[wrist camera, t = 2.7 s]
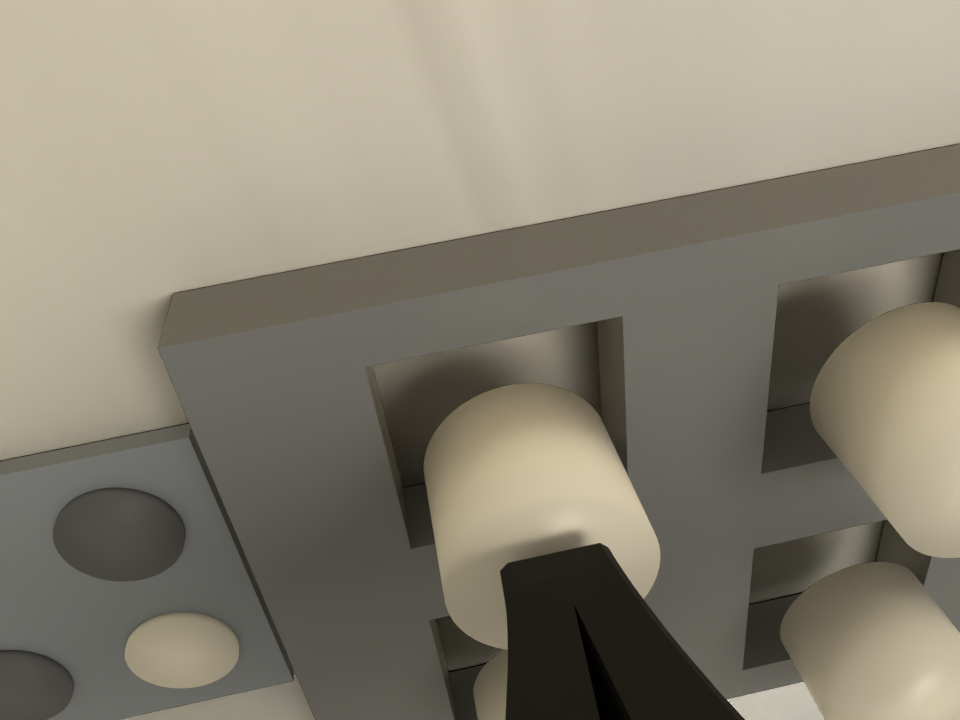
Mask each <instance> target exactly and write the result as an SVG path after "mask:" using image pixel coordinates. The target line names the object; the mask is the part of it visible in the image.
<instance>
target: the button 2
mask: <svg viewBox="0 0 960 720" xmlns="http://www.w3.org/2000/svg"><path fill="white" fill-rule="evenodd" d="M424 477H425V483H426V489H427V495H428V502H429V508H430V514H431V520H432V526H433V532H434V538H435V544H436V551H437V557H438V563H439V569H440V575H441V581H442V587H443V593H444V600H445V604H446V607H447V610H448V613H449V615H450V616H451V618H452V620H453V621H454V623H455V624H456V625H457V626H458V627H459V628H460V629H461V630H462V631H463V632H464V633H466V634H467V635H468V636H470V637H472V638H473V639H475V640H477V641H479V642H481V643H484V644H486V645H489V646H492V647H496V648H500V649H505V650H508V633H507V615H506V605H505V599H504V593H503V587H502V581H501V575H500V570H501V569H502V568H503V567H504V566H505V565H506V564H507V563H510V562H514V561H519V560H523V559H528V558H532V557H537V556H542V555H546V554H551V553H555V552H560V551H564V550H569V549H574V548H578V547H583V546H587V545H592V544H597V543H601V544H603V545H605V546H607V547H609V549H610V551H611V552H612V554H613V556H614V557H615V559H616V560H617V562H618V563H619V565H620V566H621V568H622V569H623V571H624V572H625V574H626V575H627V577H628V578H629V580H630V581H631V583H632V584H633V585H634V587H635V588H636V590H637V591H638V592H639V594H640V595H641V596H642V598H643V599H644V598H645V597H646V595H647V594H648V592H649V591H650V589H651V588H652V586H653V584H654V582H655V579H656V577H657V574H658V570H659V567H660V557H661V556H660V546H659V543H658V540H657V537H656V535H655V532H654V530H653V528H652V526H651V524H650V522H649V520H648V517H647V515H646V513H645V511H644V509H643V507H642V505H641V503H640V500H639V498H638V496H637V494H636V492H635V490H634V488H633V485H632V483H631V481H630V479H629V477H628V475H627V473H626V470H625V468H624V466H623V464H622V462H621V460H620V458H619V455H618V453H617V451H616V449H615V447H614V445H613V443H612V441H611V438H610V436H609V434H608V432H607V430H606V428H605V426H604V423H603V421H602V420H601V418H600V416H599V414H598V413H597V412H596V410H595V409H594V408H593V407H592V406H591V405H590V404H589V403H588V402H587V401H586V400H584V399H583V398H581V397H580V396H578V395H577V394H575V393H573V392H571V391H569V390H566V389H563V388H560V387H557V386H552V385H547V384H537V383H524V384H514V385H507V386H503V387H499V388H495V389H492V390H490V391H487V392H484V393H482V394H480V395H478V396H476V397H474V398H472V399H470V400H468V401H467V402H465V403H464V404H462V405H460V406H459V407H458V408H457V409H455V410H454V411H453V412H452V413H450V414H449V415H448V416H447V417H446V419H445V420H444V421H443V422H442V423H441V424H440V425H439V427H438V428H437V429H436V431H435V432H434V434H433V436H432V438H431V439H430V441H429V444H428V447H427V449H426V453H425V458H424Z"/></svg>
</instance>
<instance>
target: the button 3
mask: <svg viewBox="0 0 960 720" xmlns="http://www.w3.org/2000/svg"><path fill="white" fill-rule="evenodd" d="M780 637H781V641H782V643H783V645H784V647H785V649H786V651H787V652H788V654H789V656H790V658H791V660H792V661H793V663H794V665H795V667H796V669H797V670H798V672H799V674H800V676H801V677H802V679H803V681H804V683H805V685H806V686H807V688H808V690H809V692H810V694H811V695H812V697H813V699H814V701H815V703H816V704H817V706H818V708H819V710H820V711H821V713H822V715H823V717H824V719H825V720H960V633H959V631H958V630H957V629H956V627H955V626H954V625H953V624H952V622H951V621H950V620H949V618H948V617H947V616H946V615H945V613H944V612H943V611H942V609H941V608H940V607H939V606H938V604H937V603H936V602H935V600H934V599H933V598H932V597H931V595H930V594H929V593H928V591H927V590H926V589H925V588H924V586H923V585H922V584H921V583H920V581H919V580H918V579H917V577H916V576H915V575H914V574H913V573H912V571H910V570H909V569H908V568H906V567H904V566H902V565H899V564H896V563H890V562H869V563H863V564H858V565H854V566H851V567H848V568H845V569H842V570H839V571H837V572H835V573H833V574H830V575H829V576H827V577H825V578H823V579H821V580H820V581H818V582H816V583H815V584H813V585H812V586H811V587H809V588H808V589H807V590H805V591H804V592H803V593H802V594H801V595H800V596H799V597H798V598H797V599H796V600H795V601H794V602H793V603H792V605H791V606H790V607H789V609H788V610H787V612H786V614H785V615H784V618H783V620H782V622H781V627H780Z"/></svg>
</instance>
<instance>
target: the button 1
mask: <svg viewBox="0 0 960 720" xmlns="http://www.w3.org/2000/svg"><path fill="white" fill-rule="evenodd" d="M507 673H508V650H505V649H504V650H502V651H501V652H500V653H498V654H497V655H495V656H494V657H493V658H492V659H491V660H490V661H488V663H487V664H486V665H485V666H484V667H483V668H482V670H481V671H480V672H479V674H478V676H477V678H476V680H475V684H474V689H473V694H474V701H475V707H476V713H477V718H478V720H505V715H506V694H507Z"/></svg>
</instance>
